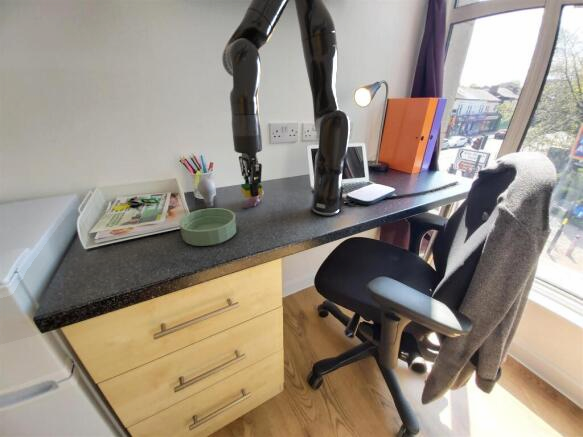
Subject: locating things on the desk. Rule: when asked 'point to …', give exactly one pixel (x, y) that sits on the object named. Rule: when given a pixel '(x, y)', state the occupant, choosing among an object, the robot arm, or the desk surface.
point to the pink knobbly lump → (252, 201)
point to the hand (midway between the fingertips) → (252, 193)
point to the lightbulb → (207, 191)
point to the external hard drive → (370, 194)
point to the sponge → (247, 190)
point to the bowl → (208, 226)
